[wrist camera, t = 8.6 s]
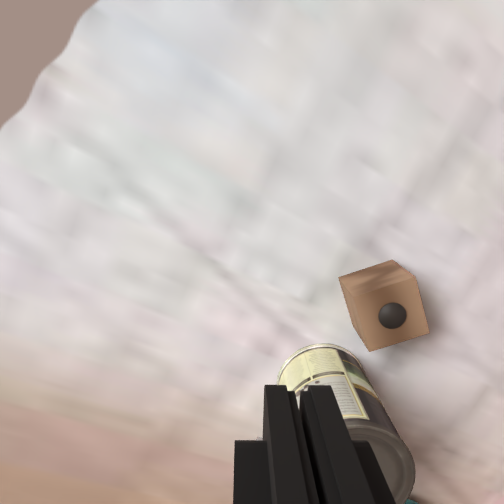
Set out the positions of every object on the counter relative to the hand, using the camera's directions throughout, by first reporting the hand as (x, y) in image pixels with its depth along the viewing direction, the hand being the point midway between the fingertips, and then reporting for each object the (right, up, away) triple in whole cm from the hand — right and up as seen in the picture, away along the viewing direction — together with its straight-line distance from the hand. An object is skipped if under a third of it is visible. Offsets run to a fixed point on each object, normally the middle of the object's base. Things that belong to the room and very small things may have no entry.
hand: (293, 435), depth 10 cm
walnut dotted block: (+12, 0, +34) cm, 36 cm away
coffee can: (+7, -10, +36) cm, 38 cm away
